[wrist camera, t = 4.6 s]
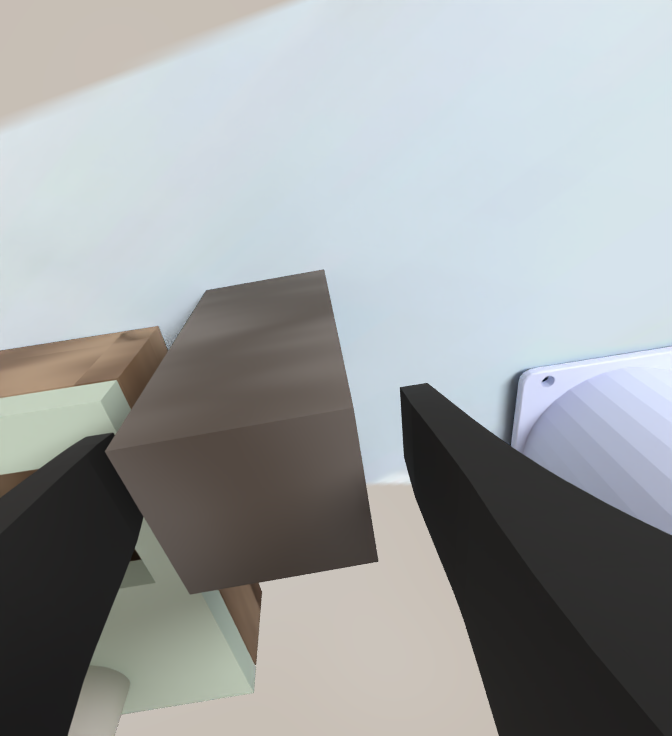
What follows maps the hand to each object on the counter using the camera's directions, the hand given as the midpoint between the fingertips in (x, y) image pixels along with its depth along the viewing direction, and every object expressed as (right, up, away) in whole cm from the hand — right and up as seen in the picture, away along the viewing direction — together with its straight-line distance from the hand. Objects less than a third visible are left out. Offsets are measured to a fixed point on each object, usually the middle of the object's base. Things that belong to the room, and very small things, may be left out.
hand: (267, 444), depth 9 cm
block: (0, +3, +5) cm, 6 cm away
